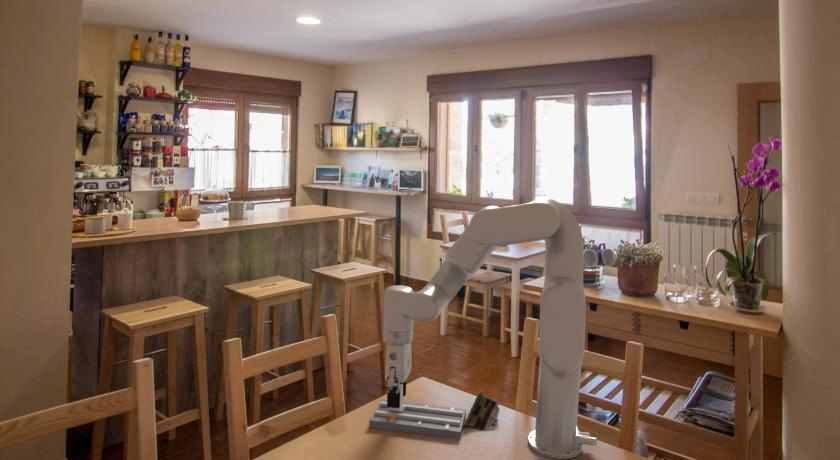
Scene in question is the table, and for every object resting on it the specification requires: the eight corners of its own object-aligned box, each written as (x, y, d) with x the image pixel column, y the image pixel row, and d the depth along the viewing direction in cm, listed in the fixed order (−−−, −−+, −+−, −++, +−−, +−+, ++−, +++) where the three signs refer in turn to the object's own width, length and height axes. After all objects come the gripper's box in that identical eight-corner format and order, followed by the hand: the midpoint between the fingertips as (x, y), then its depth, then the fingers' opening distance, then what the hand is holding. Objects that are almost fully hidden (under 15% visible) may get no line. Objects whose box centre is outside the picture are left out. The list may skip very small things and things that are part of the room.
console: (465, 416, 142) (466, 406, 142) (460, 439, 131) (460, 428, 130) (381, 406, 147) (382, 396, 146) (369, 427, 135) (369, 417, 135)
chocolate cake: (488, 438, 133) (506, 394, 139) (462, 425, 135) (481, 382, 141) (486, 446, 141) (503, 405, 147) (461, 434, 143) (479, 393, 149)
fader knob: (405, 408, 141) (406, 384, 140) (402, 414, 138) (403, 389, 137) (390, 406, 141) (391, 382, 140) (387, 412, 139) (388, 387, 138)
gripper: (405, 347, 128) (403, 418, 130) (419, 325, 144) (417, 388, 147) (374, 344, 129) (373, 415, 132) (392, 322, 146) (390, 385, 148)
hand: (396, 400), depth 139 cm, fingers open, 6 cm apart
